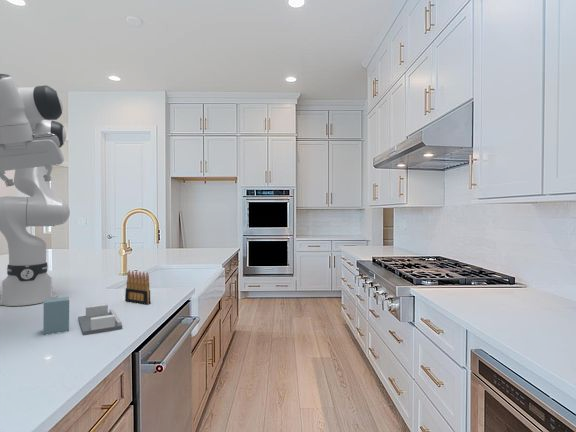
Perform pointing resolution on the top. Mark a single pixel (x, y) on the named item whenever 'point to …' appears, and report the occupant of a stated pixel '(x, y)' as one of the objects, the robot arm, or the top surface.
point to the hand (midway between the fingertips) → (29, 183)
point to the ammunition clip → (137, 288)
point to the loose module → (56, 315)
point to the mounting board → (87, 325)
